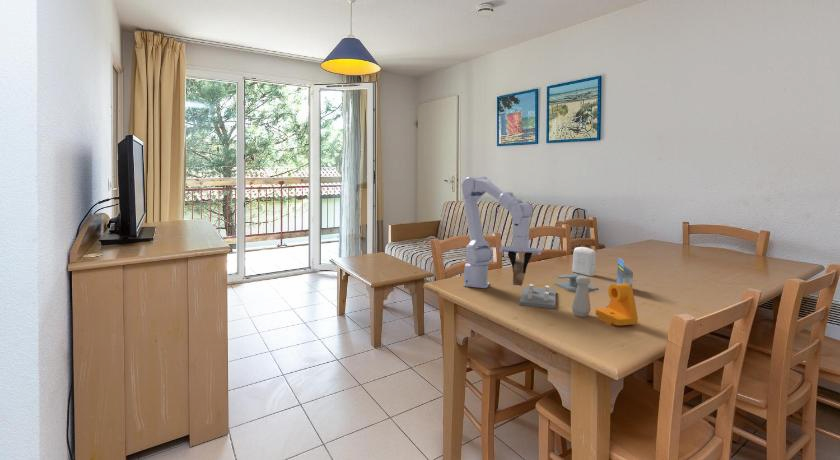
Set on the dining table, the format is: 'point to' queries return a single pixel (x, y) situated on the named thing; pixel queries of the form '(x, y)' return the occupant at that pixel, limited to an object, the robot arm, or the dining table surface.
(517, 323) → the dining table surface
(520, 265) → the cabinet door
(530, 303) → the hinge board
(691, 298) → the dining table surface
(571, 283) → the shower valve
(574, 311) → the salt shaker
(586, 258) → the photo printer
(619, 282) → the label tape box
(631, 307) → the bracket
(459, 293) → the dining table surface
